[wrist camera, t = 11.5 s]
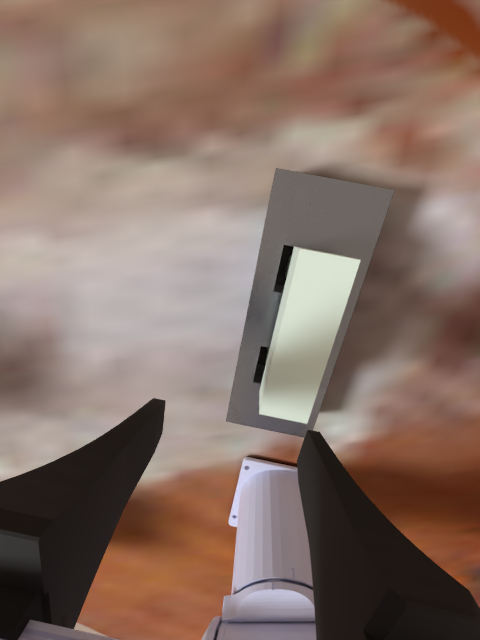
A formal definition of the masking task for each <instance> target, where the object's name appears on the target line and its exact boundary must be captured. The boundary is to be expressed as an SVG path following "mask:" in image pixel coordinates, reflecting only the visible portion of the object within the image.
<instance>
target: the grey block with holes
mask: <svg viewBox="0 0 480 640" xmlns="http://www.w3.org/2000/svg"><path fill="white" fill-rule="evenodd" d="M393 193H394V190H392V189H386V188H381V187H376V186H370V185H365V184H359V183H354V182H349V181H343V180H338V179H332V178H327V177H321V176H316V175H311V174H305V173H300V172H294V171H289V170H283V169H278V168H276V170H275V175H274V180H273V185H272V190H271V195H270V200H269V205H268V210H267V215H266V220H265V225H264V230H263V235H262V241H261V246H260V251H259V256H258V261H257V266H256V271H255V276H254V281H253V286H252V291H251V296H250V301H249V306H248V311H247V316H246V321H245V327H244V332H243V337H242V342H241V347H240V352H239V357H238V362H237V367H236V372H235V377H234V382H233V387H232V392H231V397H230V402H229V408H228V413H227V418H226V422H231V423H236V424H241V425H246V426H251V427H256V428H261V429H265V430H270V431H275V432H280V433H285V434H290V435H295V436H300V437H304V438H305V435H306V432H307V430H311V431H313V428H314V425H315V422H316V419H317V417H318V414H319V411H320V408H321V405H322V402H323V399H324V396H325V393H326V390H327V387H328V384H329V381H330V378H331V375H332V372H333V370H334V367H335V364H336V361H337V358H338V355H339V352H340V349H341V346H342V343H343V340H344V337H345V334H346V331H347V328H348V325H349V322H350V320H351V317H352V314H353V311H354V308H355V305H356V302H357V299H358V296H359V293H360V290H361V287H362V284H363V281H364V278H365V275H366V272H367V270H368V267H369V264H370V261H371V258H372V255H373V252H374V249H375V246H376V243H377V240H378V237H379V234H380V231H381V228H382V225H383V223H384V220H385V217H386V214H387V211H388V208H389V205H390V202H391V199H392V196H393ZM284 245H288V246H293V247H294V246H295V247H300V248H306V249H311V250H316V251H322V252H327V253H332V254H337V255H343V256H347V257H351V258H355V259H359V260H361V261H360V264H359V267H358V270H357V273H356V276H355V279H354V282H353V285H352V289H351V292H350V295H349V298H348V301H347V304H346V307H345V310H344V313H343V316H342V319H341V322H340V325H339V328H338V331H337V334H336V337H335V340H334V343H333V347H332V350H331V353H330V356H329V359H328V362H327V365H326V368H325V371H324V374H323V377H322V380H321V383H320V386H319V389H318V392H317V395H316V398H315V402H314V405H313V408H312V411H311V414H310V417H309V420H308V423H307V424H305V423H300V422H296V421H291V420H286V419H281V418H276V417H271V416H266V415H261V414H259V391H260V387H261V382H262V378H263V374H264V370H265V366H266V365H261V364H257V361H258V357H259V352H260V348H261V346H263V347H268V348H270V345H271V341H272V336H273V332H274V328H275V324H276V320H277V315H278V311H279V307H280V303H281V299H282V295H283V290H284V286H283V285H278V284H275V282H276V277H277V273H278V268H279V264H280V260H281V255H282V251H283V246H284Z"/></svg>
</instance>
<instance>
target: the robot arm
mask: <svg viewBox="0 0 480 640" xmlns="http://www.w3.org/2000/svg"><path fill="white" fill-rule="evenodd" d="M164 411H165V400H160V399H155V398H153V399H152V400H150V401H149V402H148V403H147V404H145V405H144V406H143V407H142V408H140V409H139V410H138V411H136V412H135V413H134V414H132V415H131V416H130V417H128V418H127V419H126V420H124V421H123V422H121V423H120V424H119V425H117V426H116V427H114V428H113V429H111V430H110V431H108V432H107V433H105V434H104V435H102V436H100V437H99V438H97V439H96V440H94V441H92V442H90V443H89V444H87V445H85V446H83V447H82V448H80V449H78V450H76V451H74V452H72V453H70V454H68V455H66V456H63V457H61V458H59V459H57V460H55V461H53V462H51V463H48V464H46V465H44V466H41V467H39V468H37V469H34V470H31V471H29V472H26V473H24V474H21V475H19V476H16V477H13V478H10V479H7V480H4V481H1V482H0V640H119V639H115V638H110V637H106V636H101V635H97V634H92V633H87V632H83V631H79V630H74V627H75V624H76V622H77V619H78V617H79V614H80V612H81V609H82V607H83V604H84V602H85V599H86V597H87V594H88V592H89V589H90V587H91V584H92V582H93V580H94V577H95V575H96V572H97V570H98V568H99V565H100V563H101V560H102V558H103V556H104V553H105V551H106V549H107V546H108V544H109V542H110V539H111V537H112V535H113V532H114V530H115V528H116V526H117V523H118V521H119V519H120V517H121V514H122V512H123V510H124V508H125V506H126V504H127V502H128V500H129V498H130V496H131V494H132V492H133V491H134V489H135V487H136V485H137V483H138V482H139V480H140V478H141V476H142V474H143V472H144V471H145V469H146V467H147V465H148V463H149V461H150V460H151V458H152V456H153V454H154V452H155V450H156V447H157V445H158V442H159V440H160V437H161V435H162V431H163V421H164ZM246 466H248V467H246ZM229 524H230V525H231V526H234V527H237V535H236V546H235V558H234V570H233V582H232V594H231V595H226V596H224V602H223V611H222V616H216V617H214V618H213V619H212V621H211V622H210V624H209V626H208V628H207V630H206V631H205V633H204V635H203V637H202V640H480V608H479V606H478V605H477V603H476V601H475V599H474V598H473V596H472V595H471V593H470V591H469V590H468V589H466V588H465V587H464V586H463V585H461V584H460V583H459V582H458V581H456V580H455V579H454V578H453V577H451V576H450V575H449V574H448V573H446V572H445V571H444V570H443V569H441V568H440V567H439V566H438V565H437V564H435V563H434V562H433V561H432V560H431V559H430V558H428V557H427V556H426V555H425V554H424V553H423V552H422V551H421V550H419V549H418V548H417V547H416V546H415V545H414V544H413V543H412V542H411V541H410V540H408V539H407V538H406V537H405V536H404V535H403V534H402V533H401V532H400V531H399V530H398V529H397V528H396V527H395V526H394V525H393V524H392V523H391V522H390V521H389V520H388V519H387V518H386V517H385V516H384V515H383V514H382V513H381V512H380V511H379V509H378V508H377V507H376V506H375V505H374V504H373V503H372V502H371V501H370V499H369V498H368V497H367V496H366V495H365V494H364V492H363V491H362V490H361V489H360V487H359V486H358V485H357V484H356V482H355V481H354V480H353V479H352V477H351V476H350V475H349V473H348V472H347V471H346V469H345V468H344V467H343V465H342V464H341V463H340V461H339V460H338V458H337V457H336V455H335V454H334V453H333V451H332V450H331V448H330V447H329V445H328V444H327V442H326V441H325V439H324V438H323V436H322V435H321V433H320V432H316V431H311V430H307V432H306V435H305V438H304V441H303V444H302V447H301V450H300V454H299V457H298V460H297V467H293V466H289V465H284V464H279V463H274V462H269V461H264V460H260V459H255V458H250V457H246V458H244V459H243V463H242V467H241V471H240V475H239V479H238V483H237V488H236V492H235V496H234V500H233V504H232V508H231V513H230V517H229Z"/></svg>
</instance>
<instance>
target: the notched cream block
mask: <svg viewBox="0 0 480 640" xmlns="http://www.w3.org/2000/svg"><path fill="white" fill-rule="evenodd" d="M360 261H361V260H359V259H355V258H351V257H347V256H343V255H337V254H332V253H327V252H322V251H316V250H311V249H306V248H300V247H295V246H294V249H293V253H292V256H289V258H288V262H287V266H286V270H285V276H286V282H285V286H284V290H283V295H282V299H281V303H280V307H279V311H278V315H277V320H276V324H275V328H274V332H273V336H272V341H271V345H270V348H268V347H267V351H266V355H265V364H266V366H265V370H264V374H263V378H262V382H261V387H260V391H259V414H261V415H266V416H271V417H276V418H281V419H286V420H291V421H296V422H300V423H305V424H307V423H308V420H309V417H310V414H311V411H312V408H313V405H314V402H315V398H316V395H317V392H318V389H319V386H320V383H321V380H322V377H323V374H324V371H325V368H326V365H327V362H328V359H329V356H330V353H331V350H332V347H333V343H334V340H335V337H336V334H337V331H338V328H339V325H340V322H341V319H342V316H343V313H344V310H345V307H346V304H347V301H348V298H349V295H350V292H351V289H352V285H353V282H354V279H355V276H356V273H357V270H358V267H359V264H360Z"/></svg>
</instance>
